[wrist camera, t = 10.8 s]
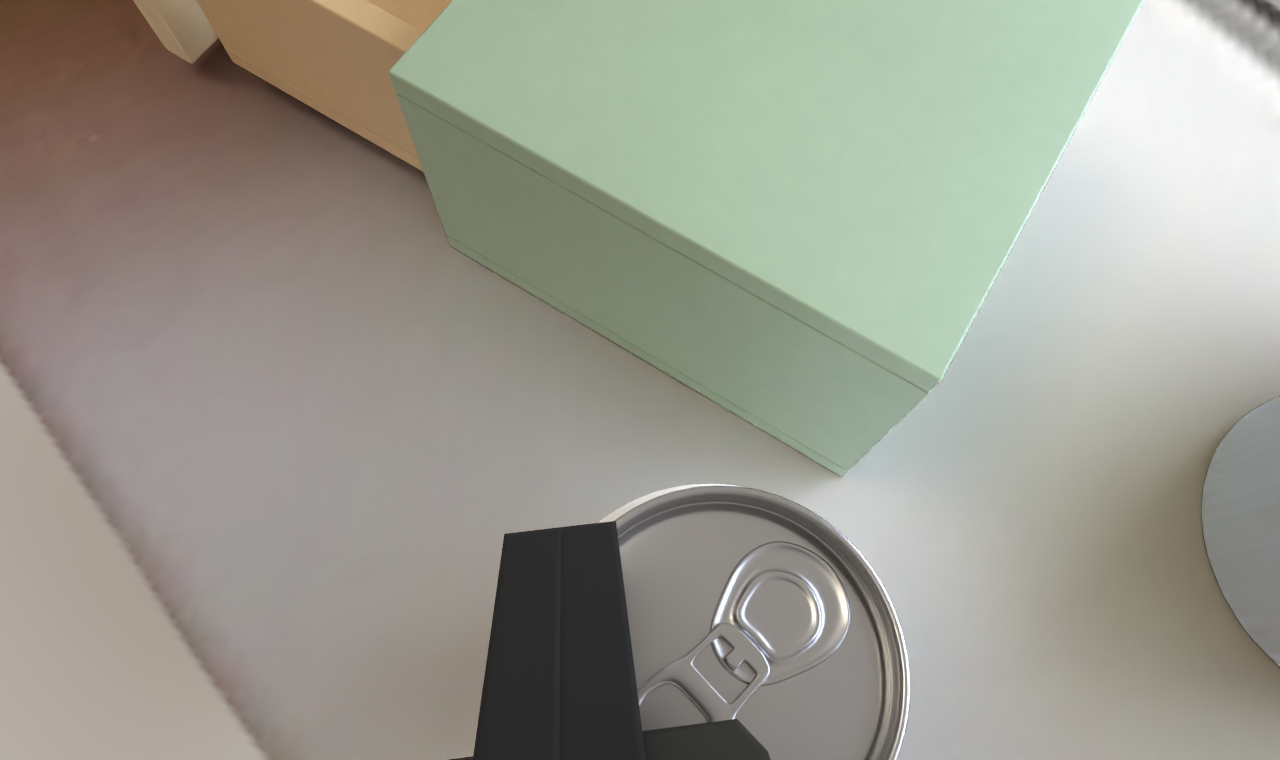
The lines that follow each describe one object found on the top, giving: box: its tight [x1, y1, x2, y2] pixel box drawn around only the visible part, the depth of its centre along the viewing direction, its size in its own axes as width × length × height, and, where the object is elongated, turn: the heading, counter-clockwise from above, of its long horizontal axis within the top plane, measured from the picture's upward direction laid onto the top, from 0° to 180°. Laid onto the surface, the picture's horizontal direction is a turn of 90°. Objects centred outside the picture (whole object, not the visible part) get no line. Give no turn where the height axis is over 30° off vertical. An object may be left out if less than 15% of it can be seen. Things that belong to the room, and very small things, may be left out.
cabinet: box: [389, 0, 1144, 476], centre depth 26 cm, size 15×13×9 cm
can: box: [598, 484, 910, 760], centre depth 19 cm, size 6×6×12 cm
